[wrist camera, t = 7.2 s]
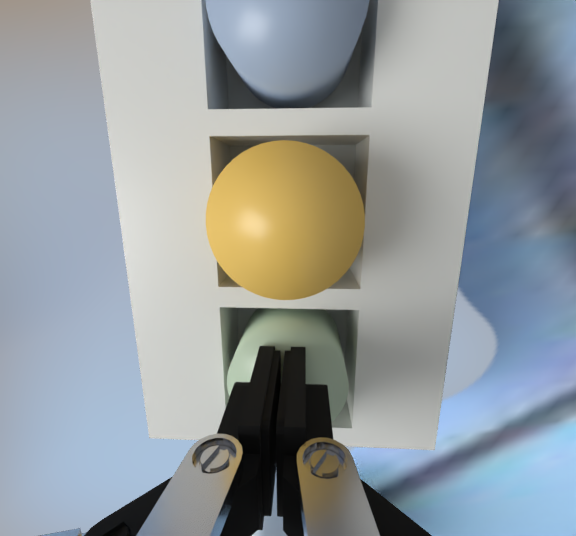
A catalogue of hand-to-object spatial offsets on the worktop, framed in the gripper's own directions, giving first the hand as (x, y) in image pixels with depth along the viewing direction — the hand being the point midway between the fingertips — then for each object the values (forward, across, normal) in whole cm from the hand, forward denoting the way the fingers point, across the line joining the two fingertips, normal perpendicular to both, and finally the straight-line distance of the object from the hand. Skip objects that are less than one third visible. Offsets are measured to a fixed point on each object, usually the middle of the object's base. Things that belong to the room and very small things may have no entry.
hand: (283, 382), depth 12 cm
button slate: (+4, 0, -12) cm, 12 cm away
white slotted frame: (+6, 0, -6) cm, 8 cm away
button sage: (+3, 0, 0) cm, 4 cm away
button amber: (+2, 0, -6) cm, 6 cm away
